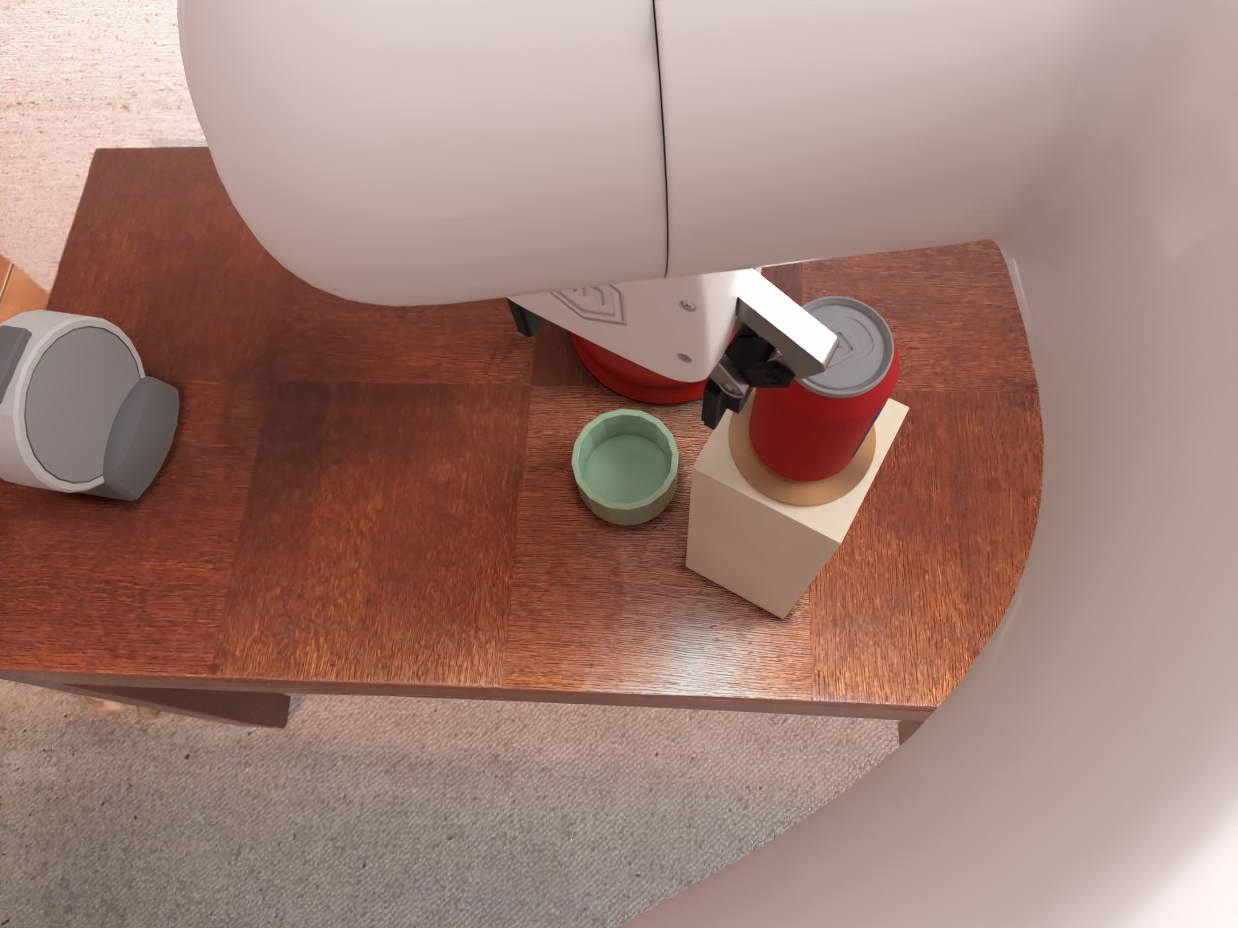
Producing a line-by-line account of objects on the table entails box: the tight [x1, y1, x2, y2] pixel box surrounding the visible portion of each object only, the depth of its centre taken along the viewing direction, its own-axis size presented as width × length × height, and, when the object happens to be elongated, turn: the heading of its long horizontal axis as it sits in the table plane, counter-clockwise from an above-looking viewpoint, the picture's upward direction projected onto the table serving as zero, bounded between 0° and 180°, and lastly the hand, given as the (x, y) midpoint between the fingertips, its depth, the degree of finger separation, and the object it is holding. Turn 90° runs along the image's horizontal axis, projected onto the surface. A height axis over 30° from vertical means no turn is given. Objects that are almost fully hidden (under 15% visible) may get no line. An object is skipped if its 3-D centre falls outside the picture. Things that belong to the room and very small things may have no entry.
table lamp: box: [570, 273, 763, 405], centre depth 67 cm, size 20×20×45 cm
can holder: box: [570, 408, 680, 526], centre depth 80 cm, size 10×10×6 cm
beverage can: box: [749, 295, 901, 482], centre depth 47 cm, size 7×7×12 cm
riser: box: [685, 397, 910, 620], centre depth 66 cm, size 10×10×28 cm
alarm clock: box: [0, 309, 180, 502], centre depth 78 cm, size 16×10×18 cm, turn 170°
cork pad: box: [729, 388, 877, 507], centre depth 53 cm, size 9×9×1 cm
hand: (631, 355), depth 40 cm, fingers open, 9 cm apart
